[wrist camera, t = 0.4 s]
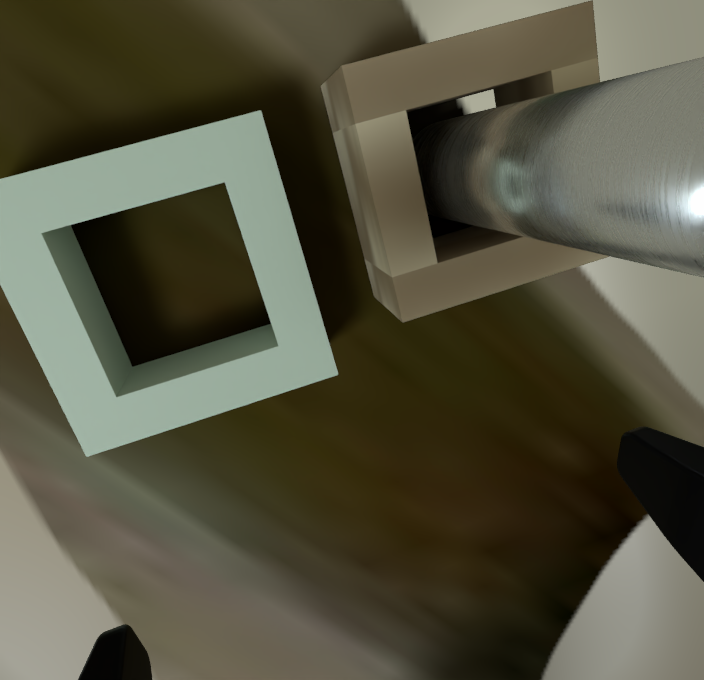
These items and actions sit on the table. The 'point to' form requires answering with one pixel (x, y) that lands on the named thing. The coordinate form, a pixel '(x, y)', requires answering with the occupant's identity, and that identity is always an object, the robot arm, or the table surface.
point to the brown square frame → (401, 166)
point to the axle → (582, 168)
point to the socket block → (91, 312)
